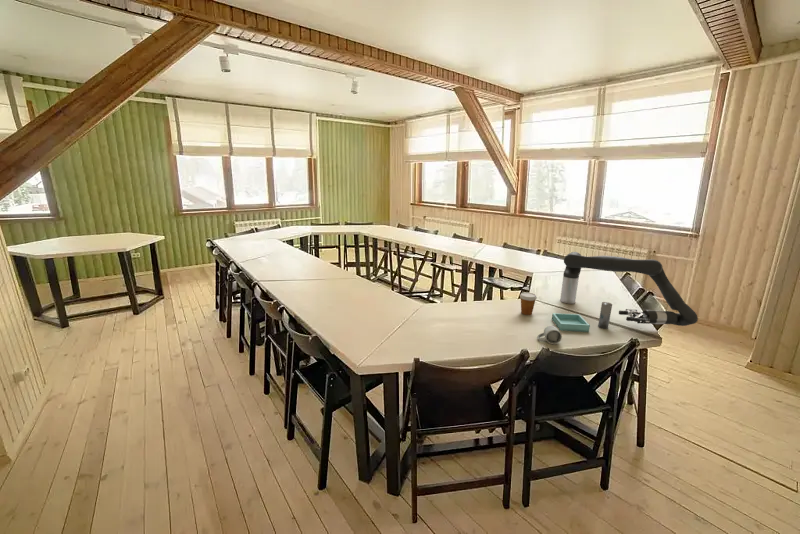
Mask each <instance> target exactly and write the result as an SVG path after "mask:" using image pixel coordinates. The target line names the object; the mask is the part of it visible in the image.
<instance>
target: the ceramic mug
mask: <svg viewBox="0 0 800 534" xmlns="http://www.w3.org/2000/svg"><path fill="white" fill-rule="evenodd" d="M562 337H563V336H562V333H561V332H560V330H559V329H558V327H557V326H556V325H555V326H554V325H547V326H546V327H544V329H543V332H542V333H540V334H537V337H536V338H537V340H538V341H539V342H540V341H541V342H543V341H546V342H547V343H548V344H550V345H557V344H559V343H560V342H561V341H562Z"/></svg>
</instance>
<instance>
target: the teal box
mask: <svg viewBox="0 0 800 534" xmlns="http://www.w3.org/2000/svg"><path fill="white" fill-rule="evenodd" d="M551 320H552V322H553V324H554V325H555V324H556V325H555V327H556V328H557V329H558V328H559V329H558V330H559V331H560V330H561V332H580V333H581V332H583V333H584V332H585V333H589V332H590V327H591V326H590V323H588V321H587V320H586V319H584V317H583V316H582V315H581V314H577V313H562V312H561V313H560V312H559V313H557V312H552V314H551Z"/></svg>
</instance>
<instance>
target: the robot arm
mask: <svg viewBox="0 0 800 534" xmlns="http://www.w3.org/2000/svg"><path fill="white" fill-rule="evenodd" d="M563 264H564V265H565V268H564V271H563V275H562V276H563V277H562V283H561V291H560V297H559V298H560V299H559V301H560V302H562V303H565V304H571V305H572V304H575V303H576V299H577V291H578V288H579V287H578V286H579V278H580V274H581V271H582V269H591V270H598V271H605V272H613V273H614V272H615V273H618V272H620V273H624V272H625V273H627V272H628V273H629V272H630V273H636V274H643V275H647V276H648V277H649V278H651V279H652V281H653V282H654V283H655V285H656V286H657V287H658V289H659V292H660V294H661V295H662V298H664V300H665V302H666V303H667V304H668V306H669V308H670V309H671V310H672V311H670V310H658V309H657V310H656V309H644V310H643V311H638V309H631V308H626V309H625V310H619V311H618V315H622V316H625V315H626V318H625V320H626V321H627V322H634V323H637V324H646V325H648V324H649V325H650V324H651V325H674V326H680V327H684V326H685V327H686V326H690V325H694V324H696V323H698V320H699V318H698V314H697V313H696V311H694V310H693V308H692V307H690V305H688V304H687V303H686V302H685V301H684V300H683V298H682V297H681V295H680V293H679V292H678V291H677V289H676V288H675V287H674V285H673V284H672V283H671V281H670V280H669V278H668V277H667V275H666V272H665V270H664V268H663V267H664V266H663V264H662V263H661V262H660V261H659V260H657V259H653V258H652V259H651V258H650V259H632V258H628V257H622V256H621V257H620V256H615V255H614V256H613V255H594V256H584V255H581V254H580V252H577V251H572V252H570V253H568V254H567V255H565V257H564V258H563ZM674 311H677V312H678V313H677V312H674Z"/></svg>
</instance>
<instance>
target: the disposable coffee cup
mask: <svg viewBox="0 0 800 534" xmlns="http://www.w3.org/2000/svg"><path fill="white" fill-rule="evenodd" d="M519 297H520V313H521V314H522V315H525V316H531V315H532V314H533V311H534V307H535V305H536V304H535V303H536V300H537V294H535V293H533V292H528V291H527V292H525V291H524V292H521V293H520V295H519Z"/></svg>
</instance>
